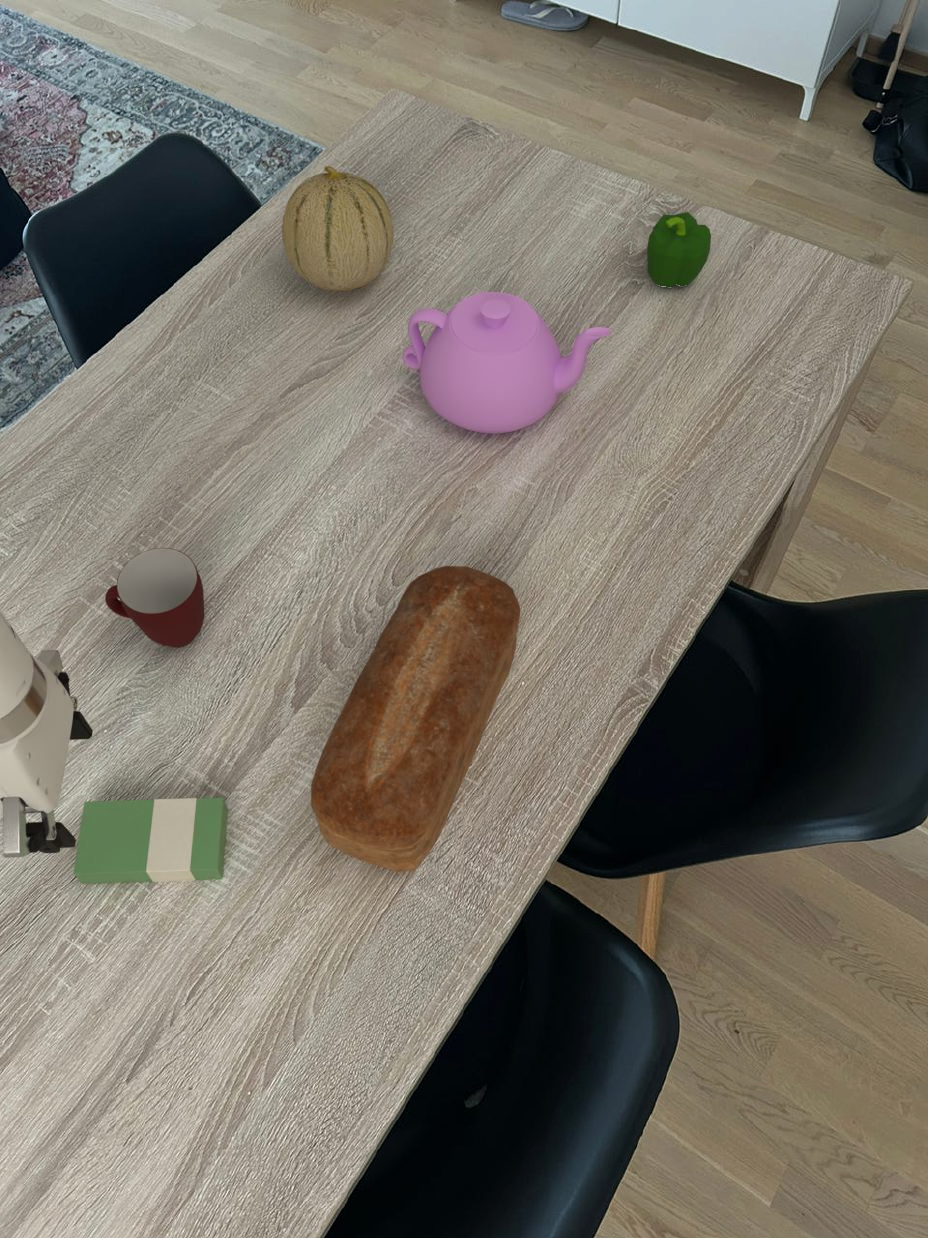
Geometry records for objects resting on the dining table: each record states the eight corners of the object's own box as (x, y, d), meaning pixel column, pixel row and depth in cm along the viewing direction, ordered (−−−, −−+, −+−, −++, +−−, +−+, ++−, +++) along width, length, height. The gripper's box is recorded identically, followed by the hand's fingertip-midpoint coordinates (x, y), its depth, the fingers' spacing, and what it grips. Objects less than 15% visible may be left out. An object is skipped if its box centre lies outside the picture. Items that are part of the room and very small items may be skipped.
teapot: (384, 425, 128) (379, 341, 117) (420, 327, 137) (419, 240, 126) (584, 463, 126) (599, 382, 114) (607, 361, 135) (623, 275, 123)
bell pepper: (692, 254, 146) (707, 192, 137) (707, 294, 142) (724, 232, 133) (633, 258, 145) (645, 196, 137) (647, 299, 141) (660, 237, 132)
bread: (301, 850, 100) (283, 796, 88) (425, 599, 115) (423, 525, 103) (418, 896, 97) (415, 848, 86) (529, 635, 113) (539, 564, 101)
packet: (82, 884, 97) (72, 874, 95) (92, 812, 101) (84, 800, 98) (222, 880, 98) (217, 869, 95) (228, 809, 102) (223, 796, 99)
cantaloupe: (321, 329, 137) (309, 233, 124) (269, 265, 143) (252, 168, 130) (417, 288, 141) (414, 191, 128) (362, 228, 148) (355, 130, 135)
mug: (111, 664, 110) (83, 614, 101) (124, 600, 114) (98, 546, 106) (211, 664, 110) (192, 614, 102) (220, 600, 114) (203, 547, 106)
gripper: (-41, 591, 77) (38, 698, 91) (-97, 813, 68) (1, 893, 82) (61, 587, 77) (124, 695, 92) (20, 808, 68) (97, 888, 82)
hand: (66, 788), depth 87 cm, fingers open, 9 cm apart
